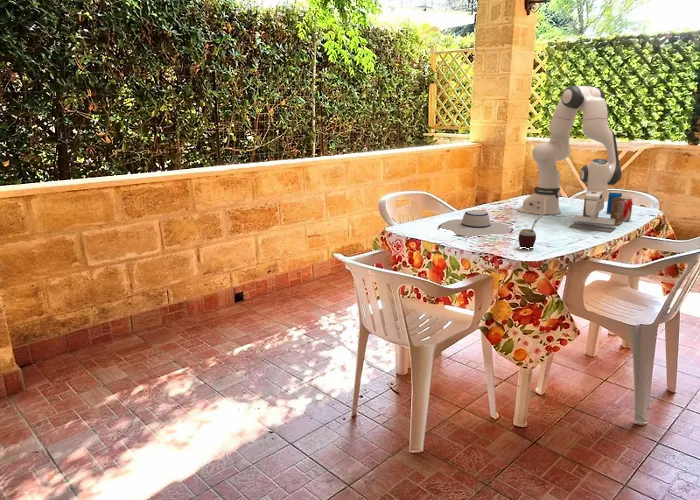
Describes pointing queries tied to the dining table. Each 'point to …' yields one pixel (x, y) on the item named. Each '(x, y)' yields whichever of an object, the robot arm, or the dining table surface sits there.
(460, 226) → the sun hat
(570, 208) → the dining table surface
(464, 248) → the dining table surface
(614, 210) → the rack
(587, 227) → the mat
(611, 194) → the beverage can
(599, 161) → the robot arm
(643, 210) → the dining table surface
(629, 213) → the soda can
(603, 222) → the rail
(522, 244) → the mate gourd
